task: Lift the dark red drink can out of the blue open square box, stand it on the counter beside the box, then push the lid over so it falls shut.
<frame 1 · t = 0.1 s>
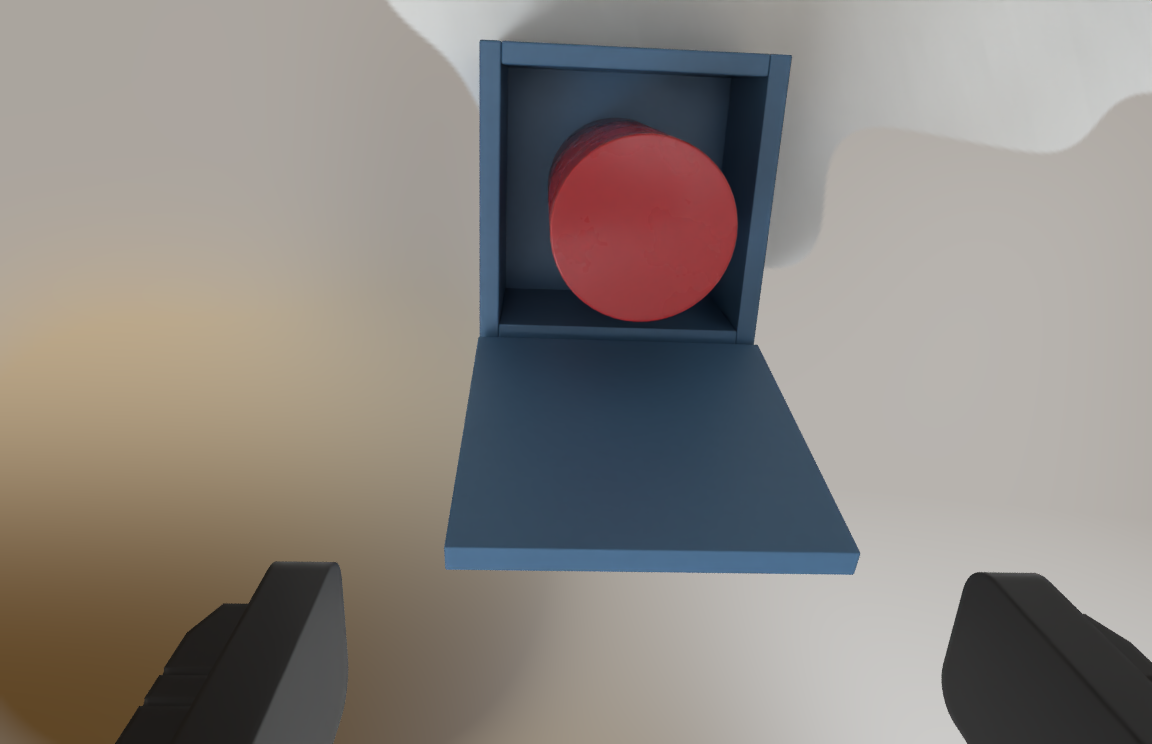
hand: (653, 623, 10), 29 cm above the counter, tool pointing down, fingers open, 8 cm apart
blue open square box: (612, 185, 37), on the counter
can: (613, 187, 36), point 1 cm above the counter, touching blue open square box
cooler lid: (633, 434, 27), point 13 cm above the counter, hinge at 100.0°
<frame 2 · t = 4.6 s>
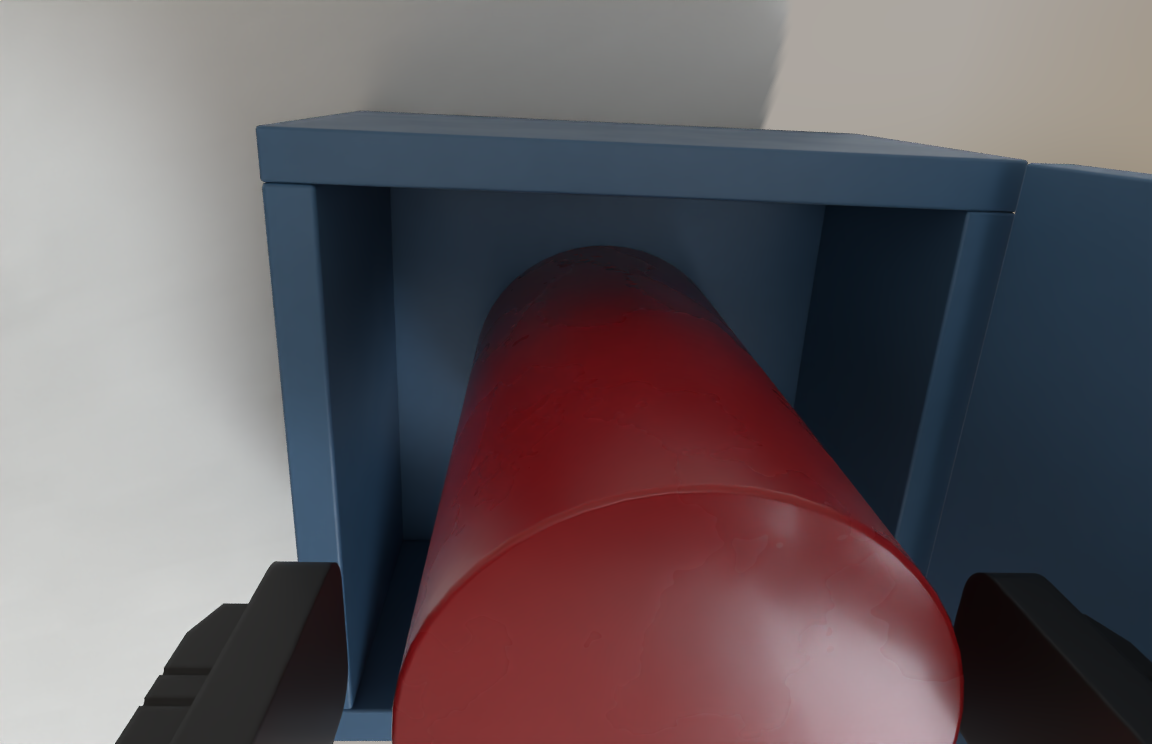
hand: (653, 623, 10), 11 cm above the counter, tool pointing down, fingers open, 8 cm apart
blue open square box: (598, 358, 20), on the counter
can: (600, 369, 19), point 1 cm above the counter, touching blue open square box
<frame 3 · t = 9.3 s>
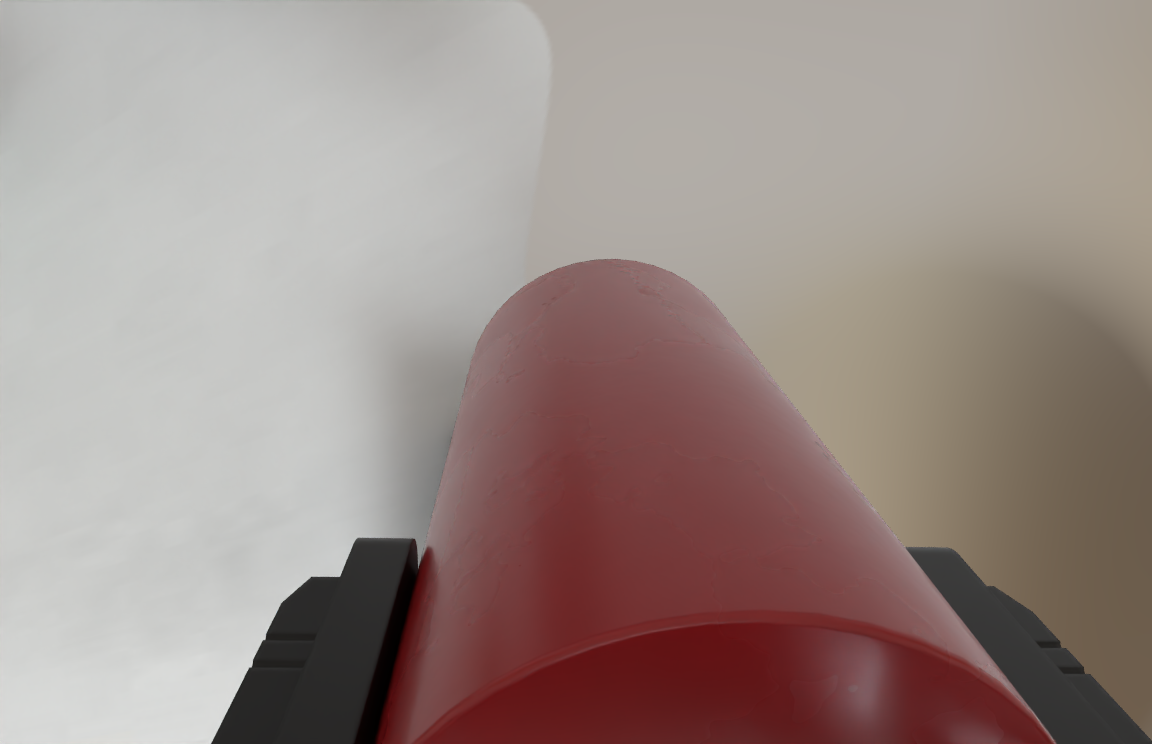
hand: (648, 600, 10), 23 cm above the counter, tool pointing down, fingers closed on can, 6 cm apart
can: (606, 395, 17), point 15 cm above the counter, touching gripper
when the fingers open (7 cm above the counter, at t = 13.2 s): can stays where it is, on the counter.
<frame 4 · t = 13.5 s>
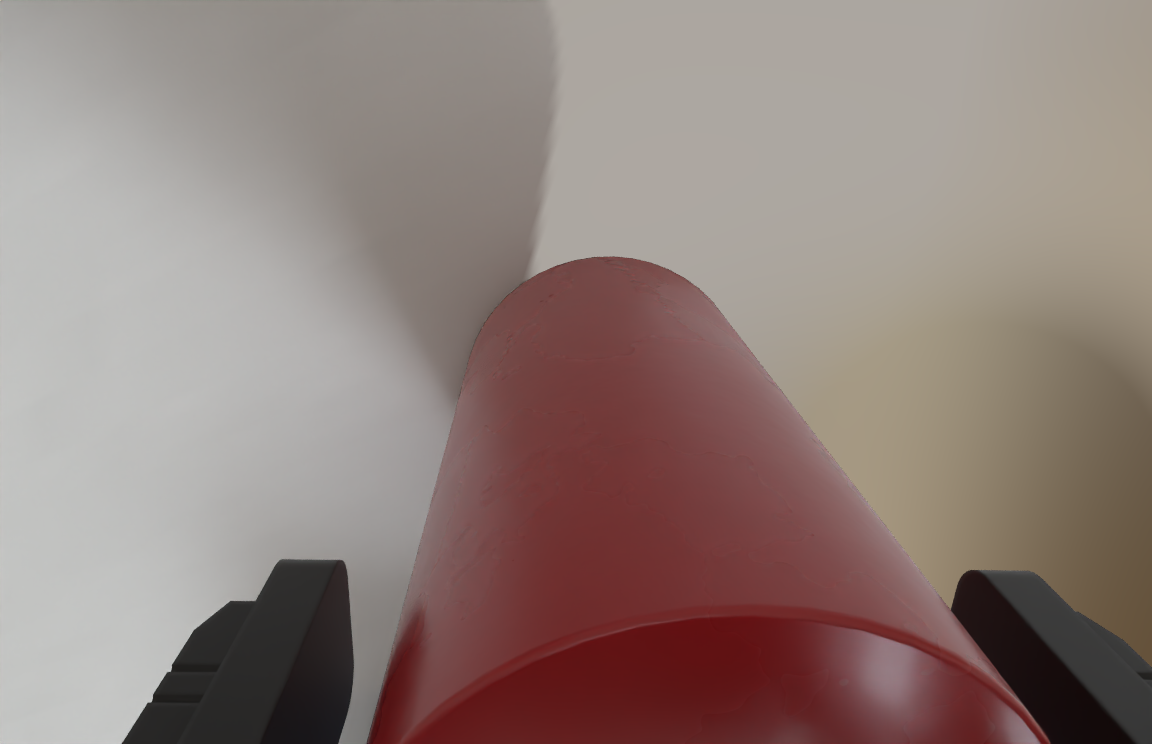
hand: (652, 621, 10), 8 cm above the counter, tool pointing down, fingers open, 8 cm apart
can: (604, 392, 17), on the counter
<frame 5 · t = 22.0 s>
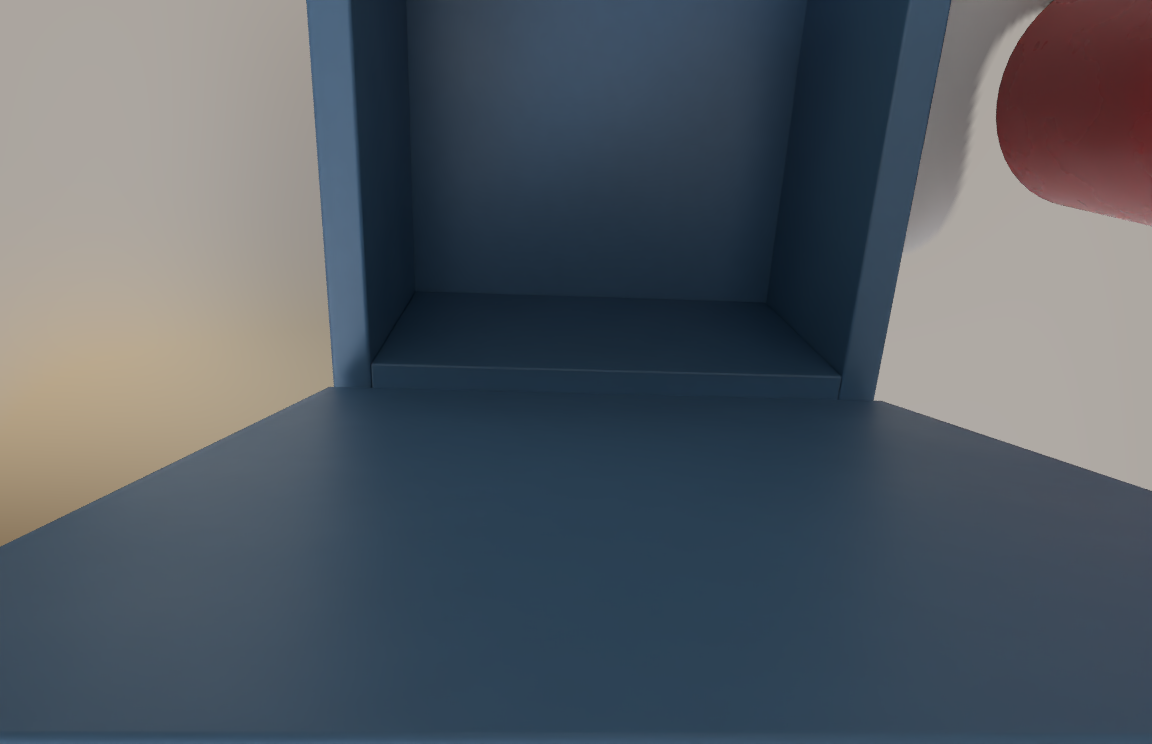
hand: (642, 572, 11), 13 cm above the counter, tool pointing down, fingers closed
blue open square box: (600, 109, 21), on the counter
can: (1106, 93, 21), on the counter
cooler lid: (654, 492, 10), point 13 cm above the counter, hinge at 75.8°, touching gripper
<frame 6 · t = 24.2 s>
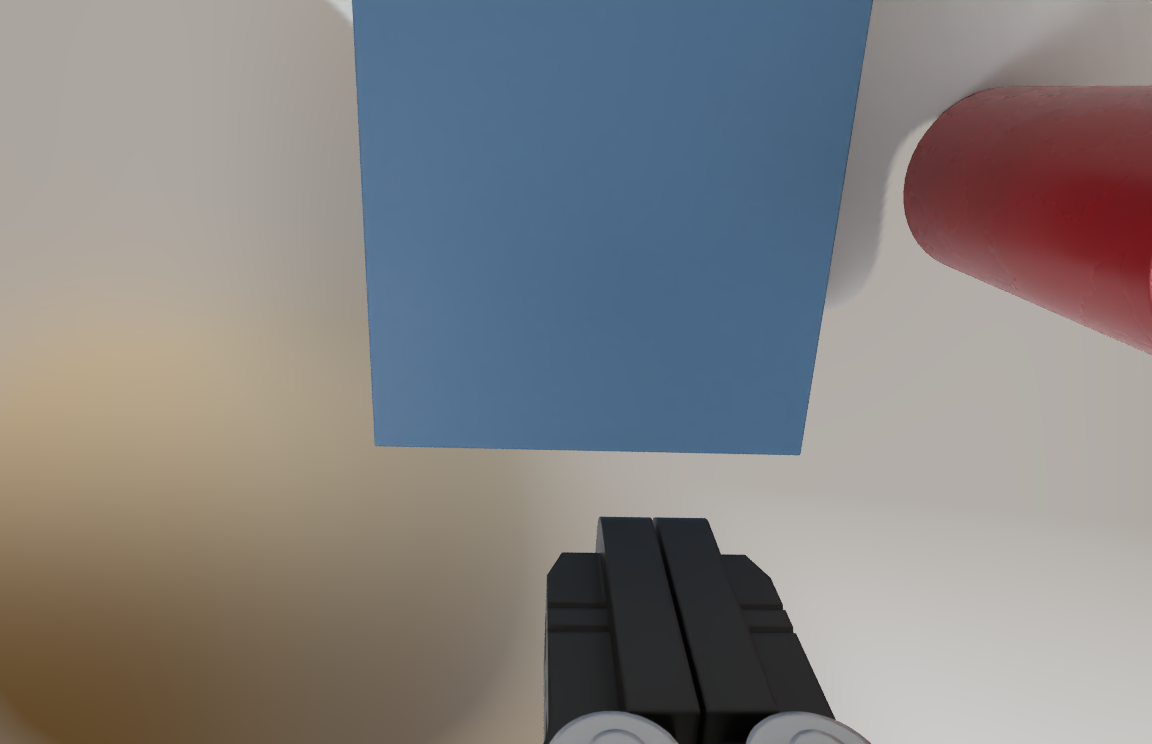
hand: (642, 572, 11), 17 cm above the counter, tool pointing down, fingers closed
can: (991, 182, 26), on the counter
cooler lid: (602, 222, 19), point 7 cm above the counter, hinge at -0.2°
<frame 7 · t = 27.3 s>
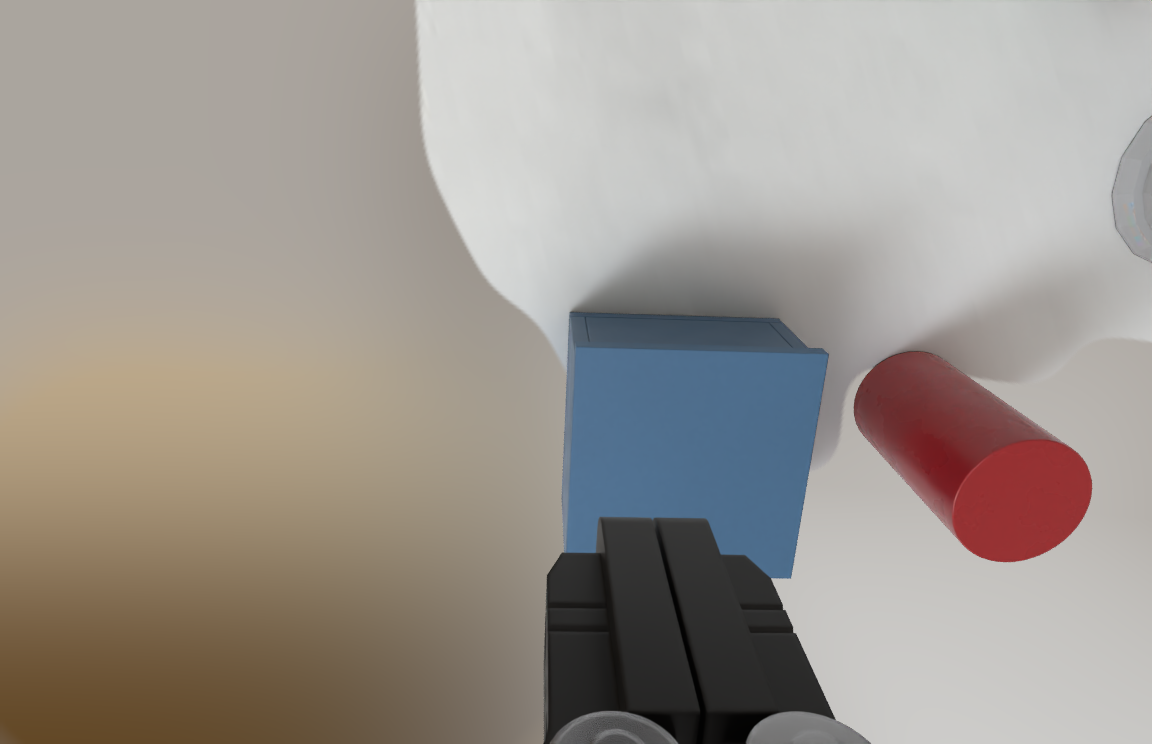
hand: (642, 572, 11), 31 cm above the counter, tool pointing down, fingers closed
blue open square box: (666, 411, 44), on the counter
can: (906, 401, 44), on the counter
cooler lid: (689, 466, 37), point 7 cm above the counter, hinge at -0.2°
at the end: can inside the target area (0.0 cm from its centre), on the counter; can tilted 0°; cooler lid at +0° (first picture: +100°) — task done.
